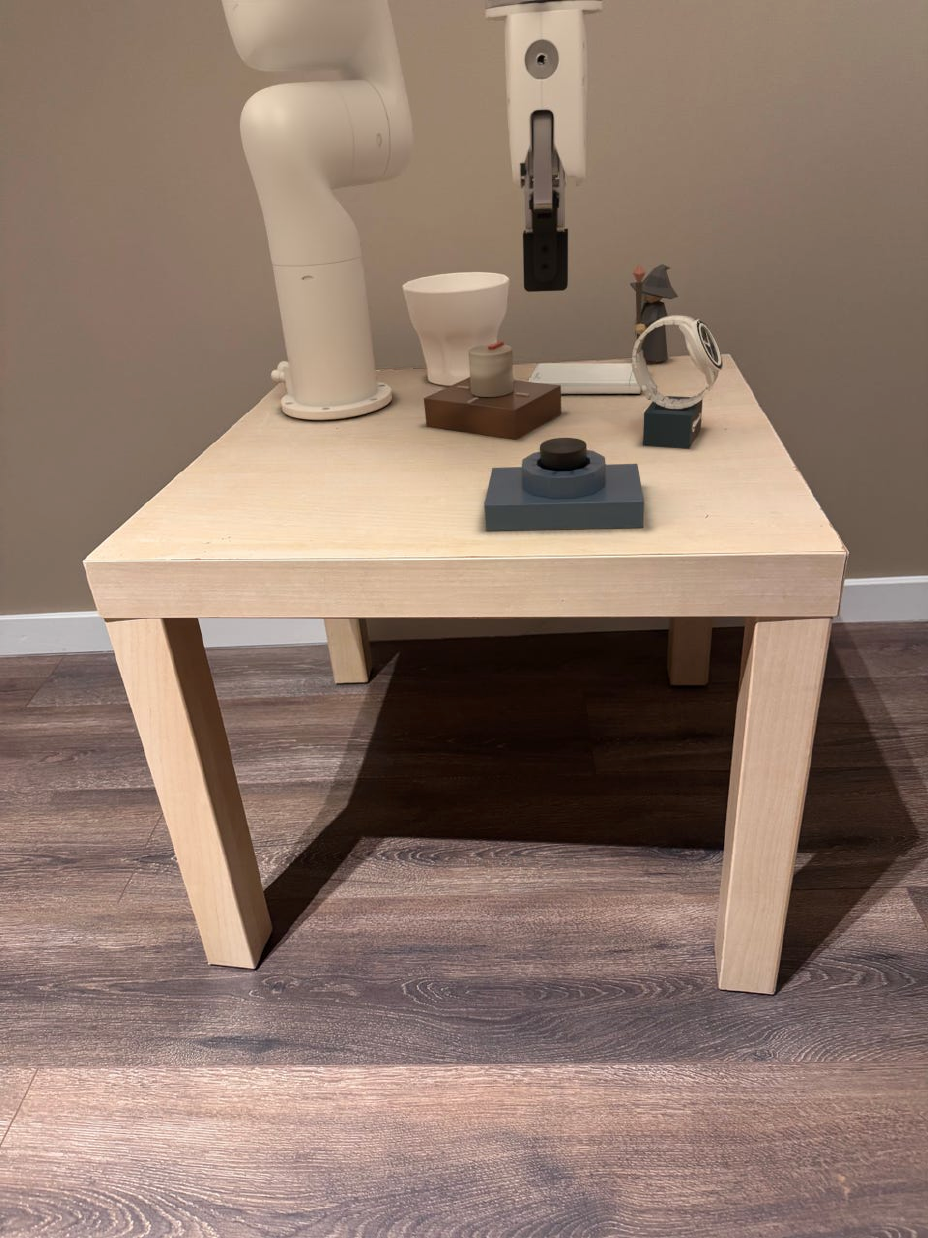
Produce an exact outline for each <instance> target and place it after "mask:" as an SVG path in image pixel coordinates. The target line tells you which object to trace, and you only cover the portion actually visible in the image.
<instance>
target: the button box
mask: <svg viewBox="0 0 928 1238" xmlns="http://www.w3.org/2000/svg"><path fill="white" fill-rule="evenodd" d="M638 464H639V463H616V464H615V463H610V464H607V463H606V457H605V456H603V455H602V454H600V453H598V452H596V451H595V450H591V449H587V466H586V467H584V468H582V469H578V470H574V471H558V472H556V471H550V470H544V469H542V468H541V467H540V451H536V452H532V453H531V454H529V455H527V456H526V457H524V458H522V460H521V466H513V467H512V466H510V467H509V466H507V467H506V466H505V467H492V468H491V472H490V476H489V482H488V485H487V491H486V496H485V500H484V505H483V506H484V507H483V508H484V522H485V531H486V532H493V531H494V532H497V531H498V532H499V531H545V530H547V531H549V530H551V531H552V530H553V531H554V530H593V529H594V530H596V529H643V528H644V517H645V514H644V513H645V499H644V493H643V488H642V481H641V476H640V469H639V465H638Z"/></svg>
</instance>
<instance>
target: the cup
mask: <svg viewBox="0 0 928 1238" xmlns="http://www.w3.org/2000/svg"><path fill="white" fill-rule="evenodd" d="M401 287H402V291H403V296H404V299H405V304H406V308H407V312H408V316H409V321H410V322H411V325H412V326H413V329H414V330H415V332H416V333H417V334H416V335H418V339H419V342H420V346H421V350H422V353H423V358H424V362H425V366H426V375H427V380H428V382H429V383H432V384H433V385H438V386H443V387H444V386H445V387H449V386H451V385H453V384H456V383H458V382H460V381H462V380H464V379H467V378H469V377H470V368H469V352H468V351H469V350H470V349H471V348H474V347H477V346H482V345H492V344H495V343H497V342H498V335H499V330H500V328H501V325H502V324H503V321H504V319H505V317H506V316H507V308H508V300H509V299H508V298H509V289H510V278H509V277H508V276H507V275H506V274H502V273H496V272H485V271H468V272H467V271H465V272H451V273H441V274H434V275H429V276H422V277H419V278H414V279H412V280H408V281H406V283H403V284H402V286H401Z"/></svg>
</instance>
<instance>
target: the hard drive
mask: <svg viewBox="0 0 928 1238" xmlns="http://www.w3.org/2000/svg"><path fill="white" fill-rule="evenodd" d="M527 382H535V383H544V384H553V385H561V395H640V394H641V393H642V390H641V389H640V387H639V385H638V383H637V381H636V378H635V375H634V372H633V369H632V365H631V362H629V363H627V362H624V363H623V362H622V363H619V362H617V363H616V362H615V363H614V362H613V363H610V362H609V363H606V362H605V363H602V362H601V363H599V362H597V363H596V362H595V363H593V362H592V363H586V362H585V363H537V365H536V367H535V369H534V370H533V372H532V374H531V375H530V377H529V379H528V380H527Z"/></svg>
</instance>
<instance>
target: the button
mask: <svg viewBox="0 0 928 1238" xmlns="http://www.w3.org/2000/svg"><path fill="white" fill-rule="evenodd" d="M587 448H588V447H587V442H586V441H584V440H582V439H579V438H575V437H556V438H550V439H547V440H544V441H542V442H541V444H540V445H539V452H540V467H541V468H542V469H544V470H550V471H556V472H558V471H574V470H578V469H582V468H584V467H586V466H587V450H588V449H587Z"/></svg>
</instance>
